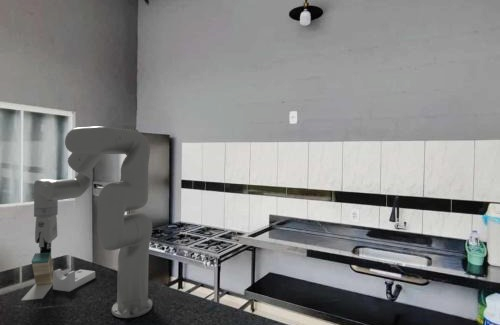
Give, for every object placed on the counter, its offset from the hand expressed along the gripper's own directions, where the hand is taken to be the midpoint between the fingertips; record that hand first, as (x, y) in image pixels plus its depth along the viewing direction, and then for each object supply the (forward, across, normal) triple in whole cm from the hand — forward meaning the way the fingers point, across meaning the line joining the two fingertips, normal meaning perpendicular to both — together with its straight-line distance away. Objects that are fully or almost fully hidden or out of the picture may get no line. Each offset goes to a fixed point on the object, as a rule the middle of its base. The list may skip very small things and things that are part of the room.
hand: (45, 258), depth 116 cm
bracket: (+10, -3, -11) cm, 15 cm away
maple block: (+8, 0, 0) cm, 9 cm away
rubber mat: (+10, -4, 0) cm, 11 cm away
